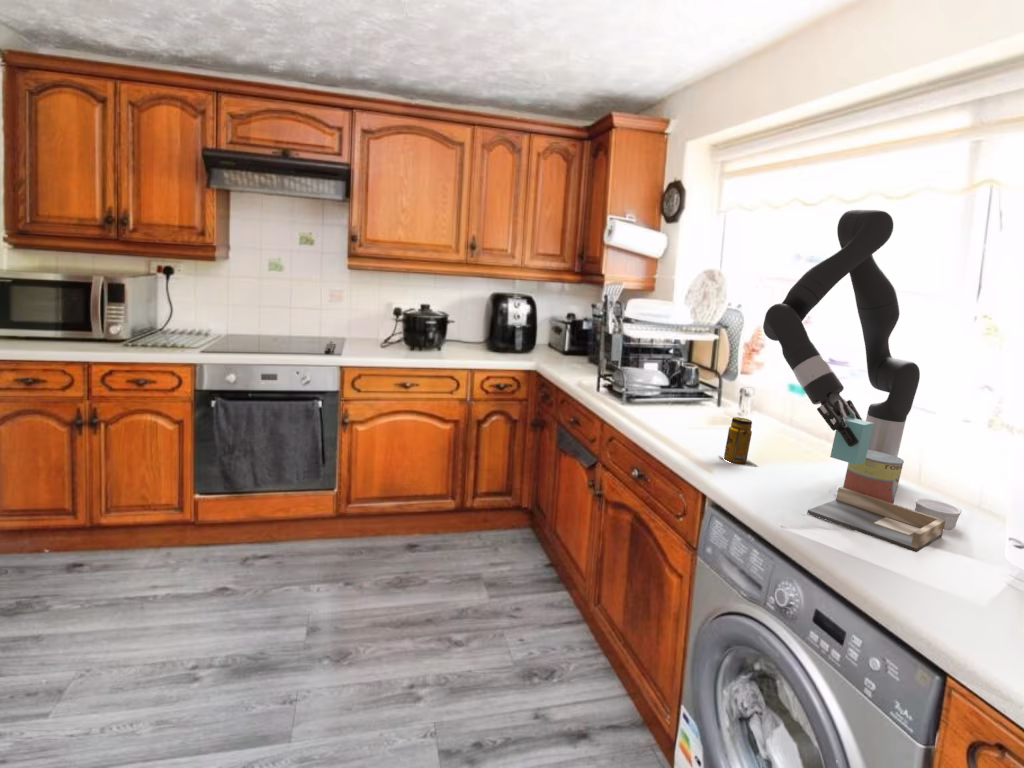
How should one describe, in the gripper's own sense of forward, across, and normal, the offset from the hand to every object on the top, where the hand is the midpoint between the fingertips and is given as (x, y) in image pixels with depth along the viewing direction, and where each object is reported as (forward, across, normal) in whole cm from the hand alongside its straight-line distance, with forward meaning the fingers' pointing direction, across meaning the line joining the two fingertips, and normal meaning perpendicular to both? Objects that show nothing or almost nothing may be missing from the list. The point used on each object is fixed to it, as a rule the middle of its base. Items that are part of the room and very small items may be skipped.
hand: (859, 443), depth 149 cm
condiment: (-12, +13, +36) cm, 40 cm away
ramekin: (+22, +15, +2) cm, 26 cm away
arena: (+16, -2, +7) cm, 18 cm away
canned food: (+12, +13, +12) cm, 21 cm away
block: (+2, 0, +4) cm, 5 cm away
